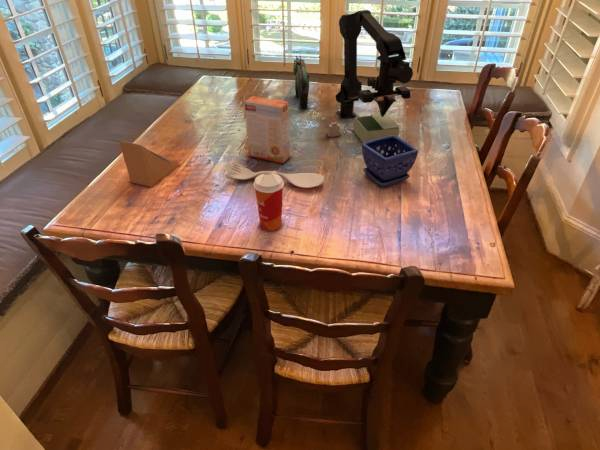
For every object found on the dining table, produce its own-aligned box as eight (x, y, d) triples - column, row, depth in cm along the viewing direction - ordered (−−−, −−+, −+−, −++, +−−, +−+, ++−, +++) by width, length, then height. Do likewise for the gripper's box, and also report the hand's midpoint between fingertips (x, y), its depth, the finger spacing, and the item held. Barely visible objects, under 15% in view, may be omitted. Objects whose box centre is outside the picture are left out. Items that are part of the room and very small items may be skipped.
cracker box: (290, 157, 157) (289, 101, 144) (283, 164, 153) (281, 107, 140) (256, 149, 162) (252, 94, 149) (248, 156, 158) (243, 100, 145)
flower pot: (381, 192, 138) (385, 159, 131) (357, 173, 148) (360, 141, 140) (414, 182, 143) (420, 149, 136) (389, 164, 152) (393, 133, 145)
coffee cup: (256, 216, 128) (253, 172, 119) (284, 215, 129) (283, 171, 120) (256, 234, 122) (252, 189, 112) (286, 232, 122) (284, 187, 113)
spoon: (233, 170, 150) (232, 161, 148) (325, 178, 145) (325, 169, 143) (225, 183, 143) (224, 174, 141) (321, 193, 138) (321, 184, 136)
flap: (370, 115, 172) (370, 114, 171) (385, 113, 173) (385, 112, 172) (383, 129, 161) (383, 128, 161) (399, 127, 162) (399, 126, 162)
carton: (353, 131, 174) (354, 117, 171) (383, 127, 176) (385, 113, 173) (365, 146, 163) (367, 132, 160) (397, 142, 166) (399, 128, 162)
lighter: (338, 134, 172) (339, 114, 167) (339, 135, 171) (340, 116, 166) (320, 135, 171) (321, 116, 166) (321, 137, 169) (322, 118, 165)
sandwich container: (179, 165, 153) (171, 125, 144) (151, 187, 141) (141, 145, 132) (158, 160, 155) (149, 121, 146) (130, 181, 144) (118, 140, 135)
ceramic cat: (292, 94, 206) (292, 50, 194) (306, 93, 207) (306, 50, 195) (297, 110, 191) (296, 64, 179) (311, 110, 191) (312, 63, 179)
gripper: (401, 66, 164) (396, 106, 173) (354, 70, 160) (351, 110, 170) (414, 75, 155) (408, 117, 165) (365, 80, 152) (361, 122, 161)
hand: (382, 116), depth 165 cm, fingers closed
